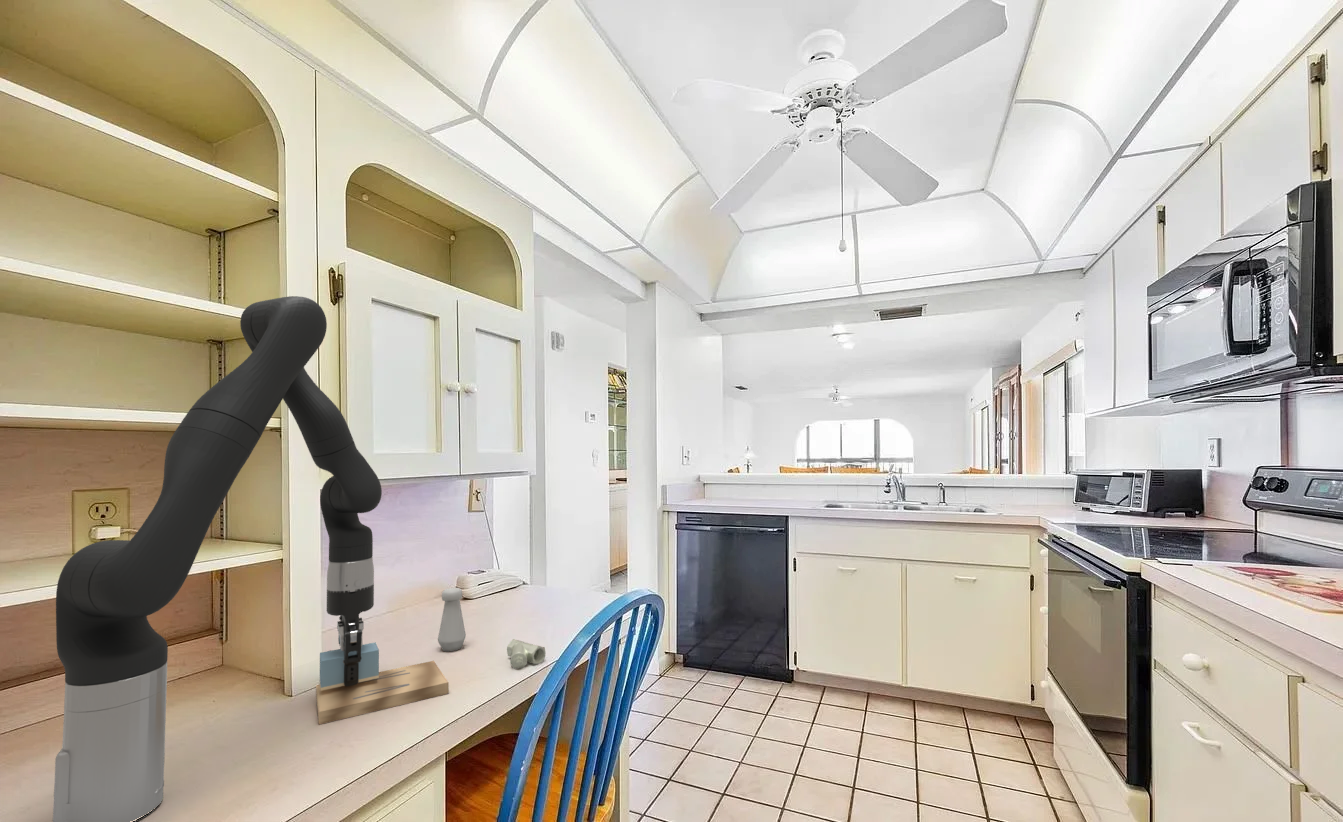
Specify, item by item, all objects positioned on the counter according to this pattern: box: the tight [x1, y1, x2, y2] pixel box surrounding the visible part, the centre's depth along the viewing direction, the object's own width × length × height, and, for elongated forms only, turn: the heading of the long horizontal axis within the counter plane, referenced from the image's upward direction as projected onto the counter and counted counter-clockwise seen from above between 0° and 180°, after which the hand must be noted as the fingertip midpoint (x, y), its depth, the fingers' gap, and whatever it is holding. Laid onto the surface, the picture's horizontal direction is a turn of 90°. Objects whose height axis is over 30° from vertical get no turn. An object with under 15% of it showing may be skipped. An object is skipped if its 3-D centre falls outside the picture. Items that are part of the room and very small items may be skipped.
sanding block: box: [319, 641, 380, 691], centre depth 105 cm, size 9×5×5 cm, turn 123°
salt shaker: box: [437, 587, 467, 652], centre depth 129 cm, size 6×6×13 cm
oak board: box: [315, 660, 449, 725], centre depth 104 cm, size 20×13×2 cm, turn 123°
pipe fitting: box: [506, 638, 546, 669], centre depth 119 cm, size 8×4×7 cm
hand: (349, 679), depth 104 cm, fingers closed on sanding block, 5 cm apart
